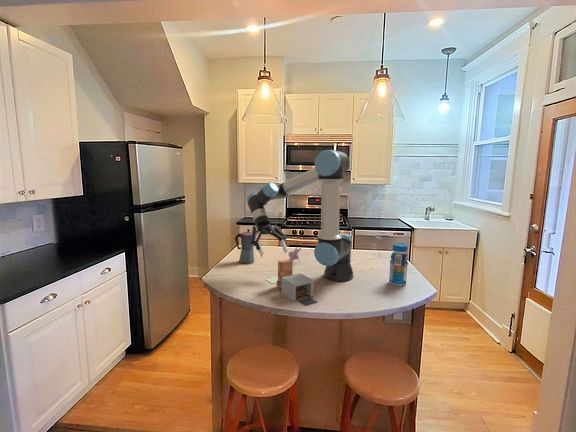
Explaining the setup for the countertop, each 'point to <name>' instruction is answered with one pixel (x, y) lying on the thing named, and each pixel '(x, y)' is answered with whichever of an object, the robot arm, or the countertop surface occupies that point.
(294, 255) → the lily
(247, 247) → the moka pot
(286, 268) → the wooden pillar on base
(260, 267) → the countertop surface
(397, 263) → the beverage bottle
